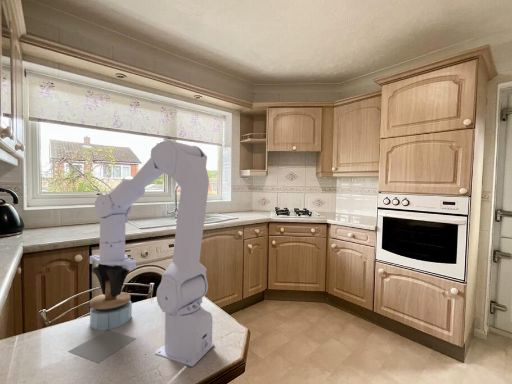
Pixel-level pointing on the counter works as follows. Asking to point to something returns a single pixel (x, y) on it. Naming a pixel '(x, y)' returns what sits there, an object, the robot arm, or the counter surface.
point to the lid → (109, 299)
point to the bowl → (110, 317)
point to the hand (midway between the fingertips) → (111, 294)
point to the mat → (102, 346)
